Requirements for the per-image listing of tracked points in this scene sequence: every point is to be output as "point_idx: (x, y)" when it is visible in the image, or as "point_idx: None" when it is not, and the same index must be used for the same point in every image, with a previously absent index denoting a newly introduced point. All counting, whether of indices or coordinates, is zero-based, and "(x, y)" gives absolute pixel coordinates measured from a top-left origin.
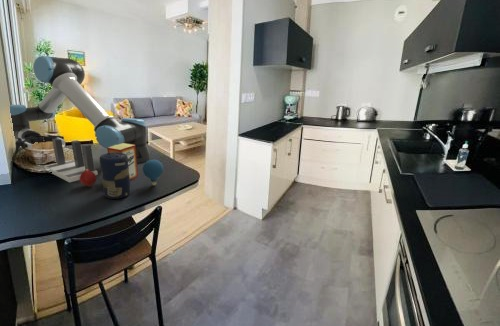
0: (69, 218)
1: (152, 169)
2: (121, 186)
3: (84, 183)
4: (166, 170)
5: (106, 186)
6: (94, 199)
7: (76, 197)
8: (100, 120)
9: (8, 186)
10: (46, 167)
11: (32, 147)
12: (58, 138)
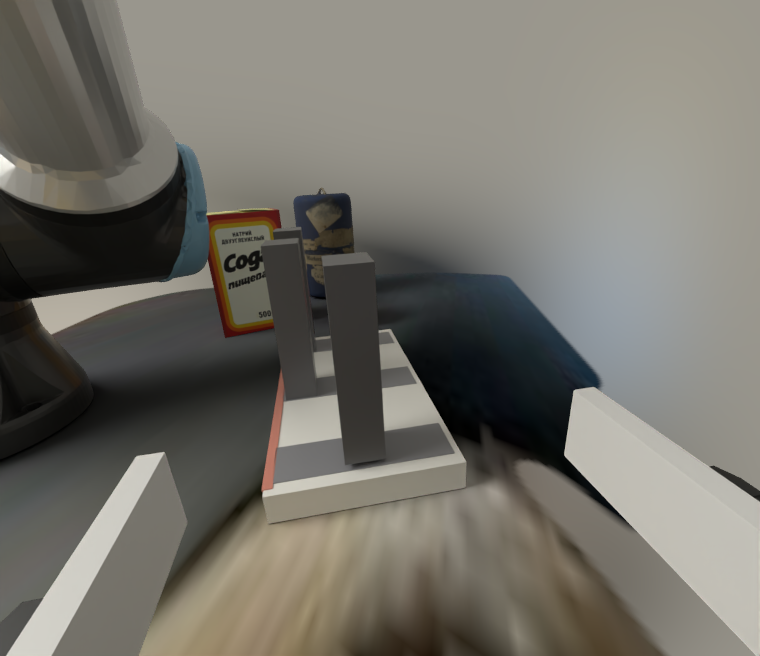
0: (427, 278)
1: None
2: None
3: None
4: (131, 325)
5: None
6: None
7: (400, 302)
8: (145, 109)
9: (588, 378)
10: (453, 442)
11: (569, 425)
12: (324, 264)
